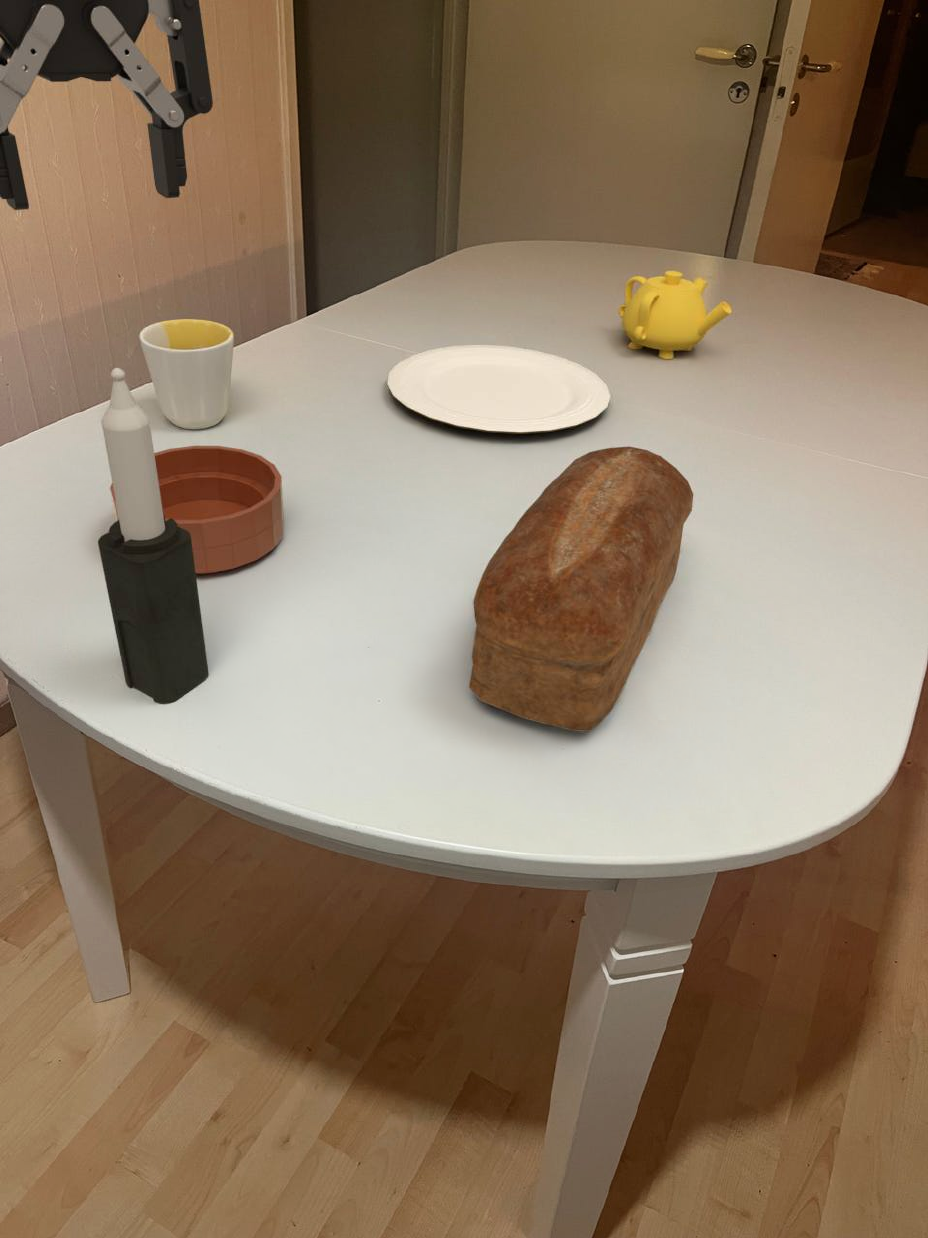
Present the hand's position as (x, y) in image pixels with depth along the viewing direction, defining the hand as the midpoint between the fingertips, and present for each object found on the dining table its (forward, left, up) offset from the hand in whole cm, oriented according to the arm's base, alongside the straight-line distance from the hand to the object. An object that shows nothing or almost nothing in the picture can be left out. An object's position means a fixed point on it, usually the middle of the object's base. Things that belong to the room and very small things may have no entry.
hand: (95, 200), depth 53 cm
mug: (+13, +47, -35) cm, 59 cm away
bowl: (+7, +19, -34) cm, 40 cm away
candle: (0, -1, -35) cm, 35 cm away
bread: (+34, -7, -35) cm, 49 cm away
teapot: (+84, +52, -35) cm, 104 cm away
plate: (+50, +42, -35) cm, 73 cm away
